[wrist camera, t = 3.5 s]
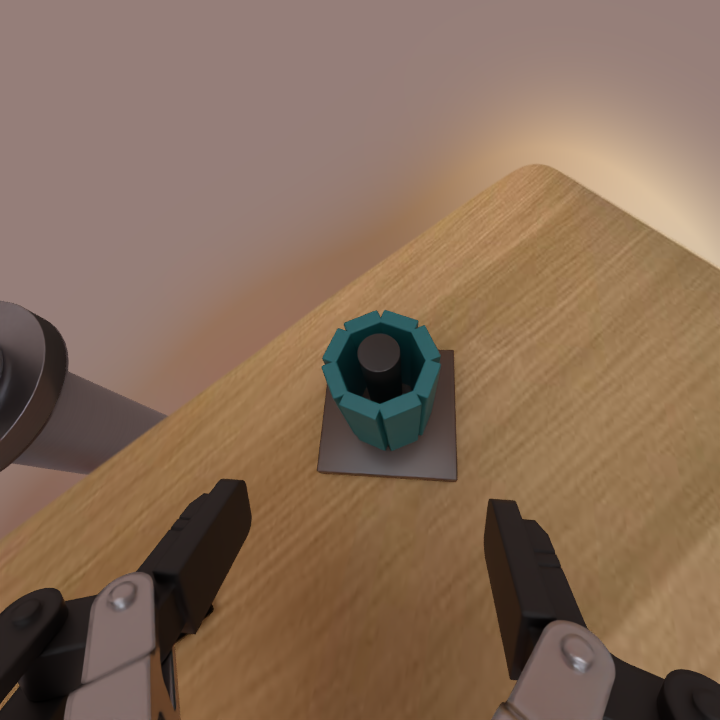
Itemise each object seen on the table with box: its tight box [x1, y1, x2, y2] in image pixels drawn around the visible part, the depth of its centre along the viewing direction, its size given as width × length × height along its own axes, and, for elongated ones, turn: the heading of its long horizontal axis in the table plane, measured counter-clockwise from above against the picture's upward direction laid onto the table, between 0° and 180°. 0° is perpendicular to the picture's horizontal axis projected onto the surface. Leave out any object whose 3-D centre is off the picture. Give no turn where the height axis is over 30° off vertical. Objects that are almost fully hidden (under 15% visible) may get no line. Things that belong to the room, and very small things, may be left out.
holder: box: [317, 334, 457, 482], centre depth 22 cm, size 9×9×10 cm
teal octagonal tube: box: [322, 310, 441, 451], centre depth 22 cm, size 6×6×8 cm
